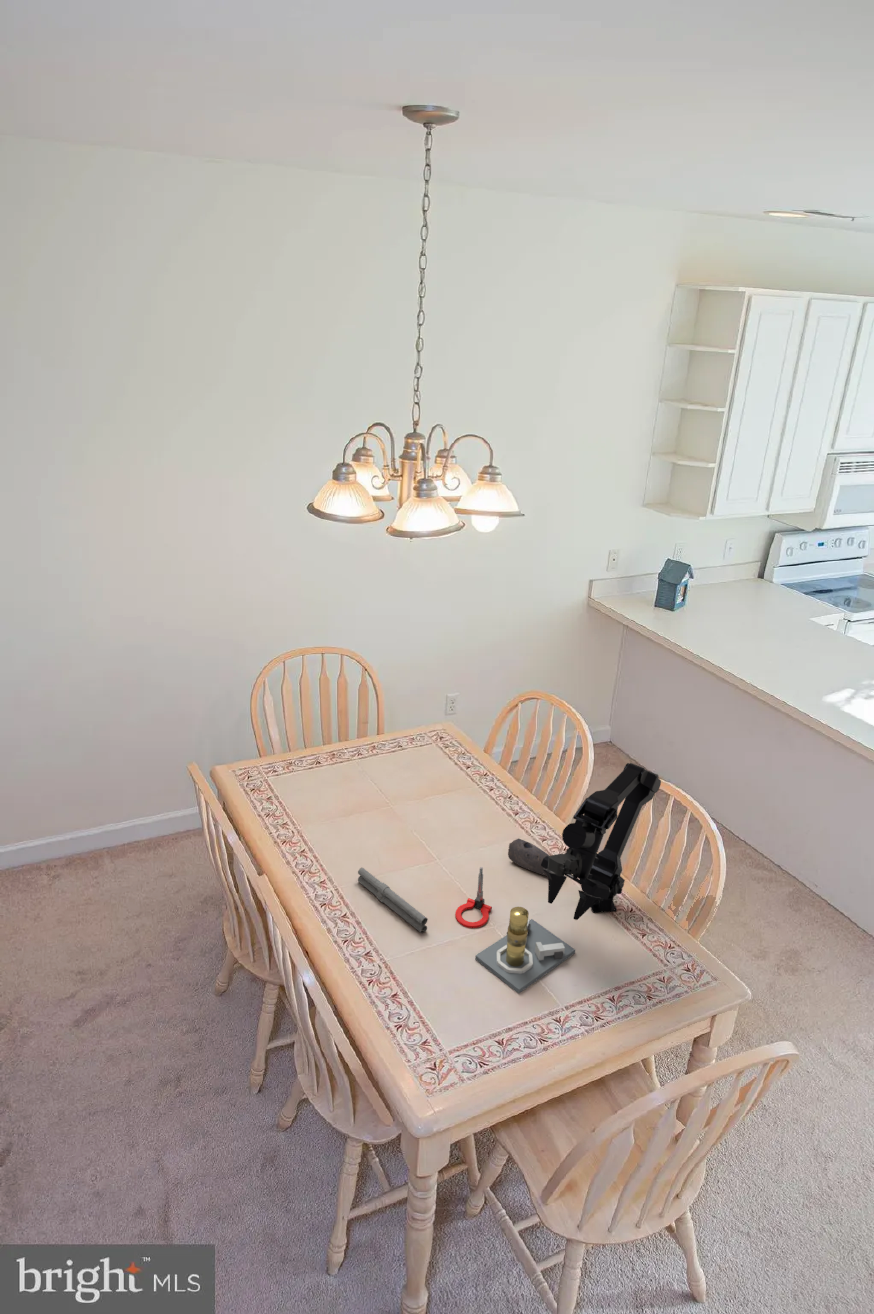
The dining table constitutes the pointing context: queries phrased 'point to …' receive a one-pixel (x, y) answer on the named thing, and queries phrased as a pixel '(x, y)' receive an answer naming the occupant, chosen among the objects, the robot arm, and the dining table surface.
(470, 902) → the tow hook
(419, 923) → the metal rod assembly
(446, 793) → the dining table surface
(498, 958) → the base
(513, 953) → the coupler
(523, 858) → the perforated stone tool
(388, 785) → the dining table surface
